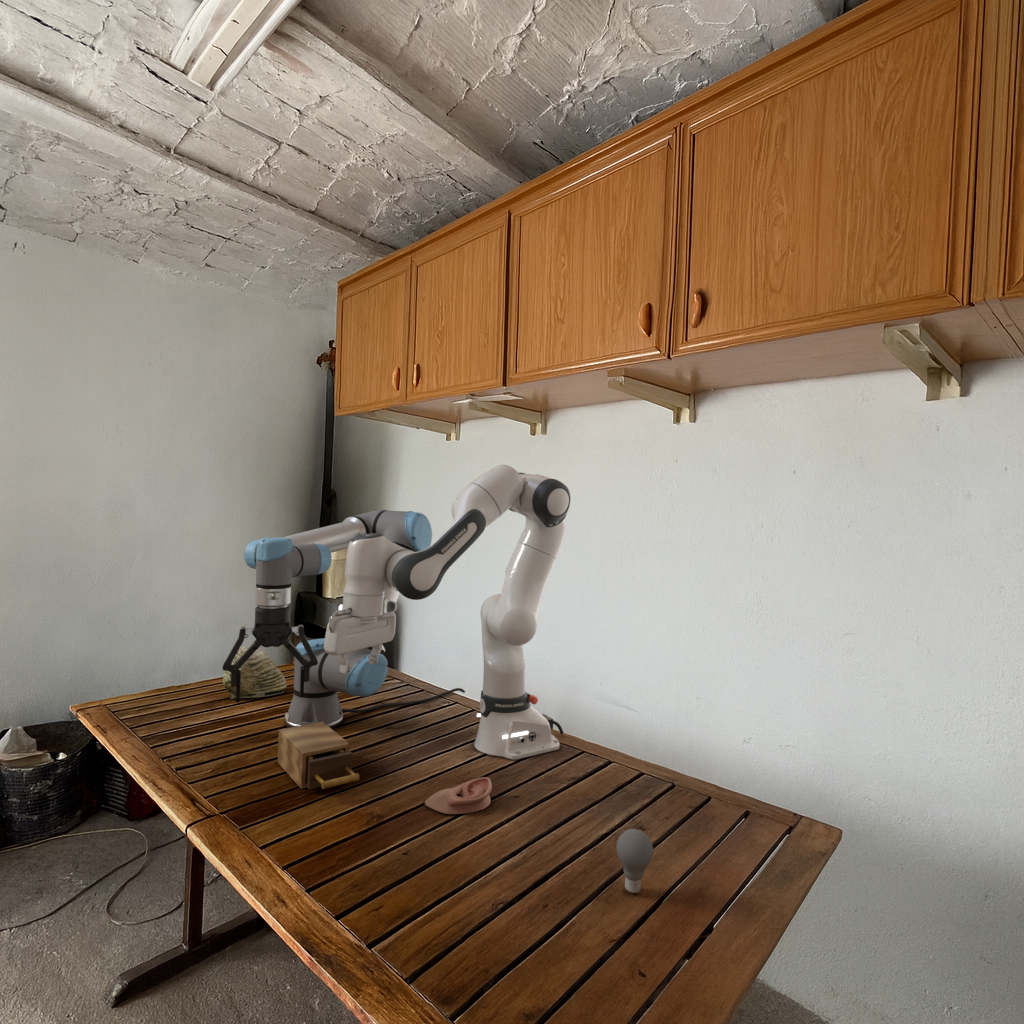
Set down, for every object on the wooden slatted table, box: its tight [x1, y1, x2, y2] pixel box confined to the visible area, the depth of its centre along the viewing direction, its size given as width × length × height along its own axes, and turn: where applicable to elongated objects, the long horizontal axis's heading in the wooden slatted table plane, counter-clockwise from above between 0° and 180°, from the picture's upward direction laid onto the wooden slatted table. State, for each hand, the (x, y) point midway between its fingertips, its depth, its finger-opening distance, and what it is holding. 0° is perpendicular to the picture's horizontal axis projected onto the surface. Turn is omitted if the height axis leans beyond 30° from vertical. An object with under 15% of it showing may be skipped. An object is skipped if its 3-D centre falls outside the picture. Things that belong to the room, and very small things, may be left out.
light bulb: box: [615, 828, 654, 894], centre depth 106 cm, size 6×6×10 cm
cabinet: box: [277, 722, 350, 790], centre depth 146 cm, size 16×11×8 cm, turn 38°
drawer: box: [306, 749, 360, 790], centre depth 141 cm, size 21×10×6 cm, turn 38°
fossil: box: [222, 646, 288, 699], centre depth 198 cm, size 9×18×15 cm, turn 132°
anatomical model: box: [424, 776, 493, 815], centre depth 134 cm, size 13×4×12 cm
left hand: (270, 698), depth 145 cm, fingers open, 13 cm apart
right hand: (359, 667), depth 141 cm, fingers open, 8 cm apart
